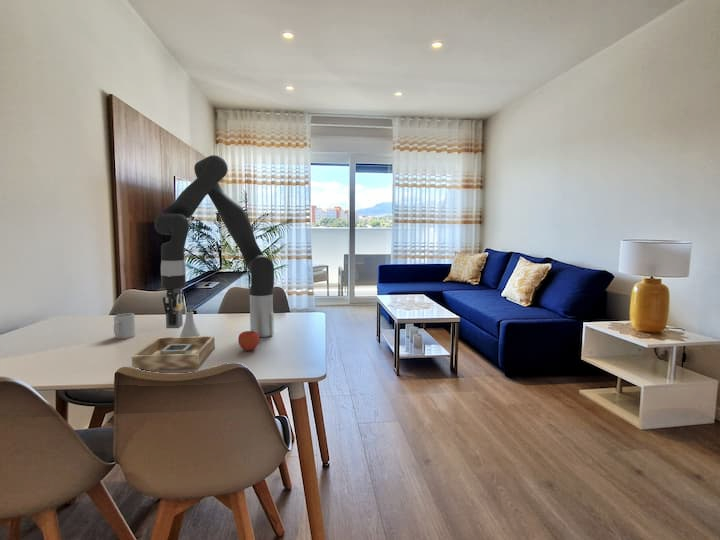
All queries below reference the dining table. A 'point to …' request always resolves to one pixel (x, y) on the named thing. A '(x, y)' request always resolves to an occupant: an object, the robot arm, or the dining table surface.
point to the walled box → (154, 361)
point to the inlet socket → (177, 349)
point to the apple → (248, 340)
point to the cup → (124, 325)
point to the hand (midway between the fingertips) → (174, 323)
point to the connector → (178, 317)
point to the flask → (189, 326)
